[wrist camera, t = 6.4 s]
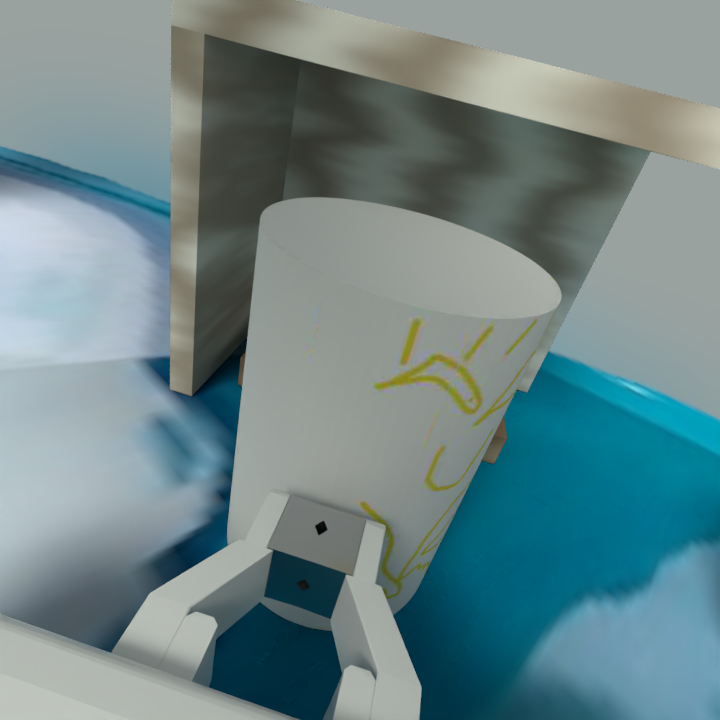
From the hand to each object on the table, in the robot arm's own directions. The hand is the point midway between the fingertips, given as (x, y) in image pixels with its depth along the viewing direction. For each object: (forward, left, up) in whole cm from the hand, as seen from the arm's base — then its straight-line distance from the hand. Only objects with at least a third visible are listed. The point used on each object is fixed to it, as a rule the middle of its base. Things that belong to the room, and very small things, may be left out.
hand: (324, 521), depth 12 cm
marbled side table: (0, +16, -6) cm, 17 cm away
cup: (0, +5, -6) cm, 8 cm away
